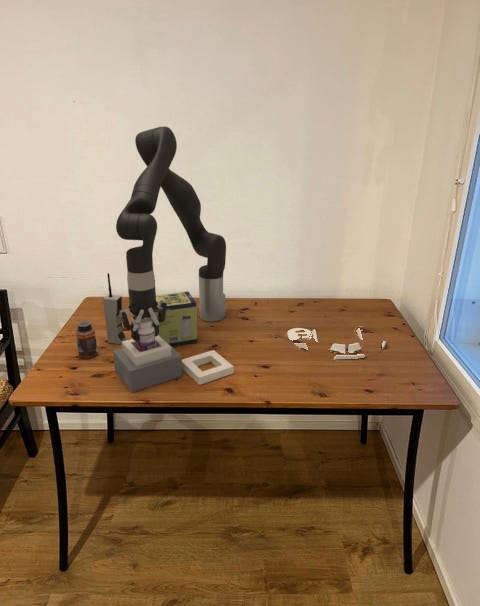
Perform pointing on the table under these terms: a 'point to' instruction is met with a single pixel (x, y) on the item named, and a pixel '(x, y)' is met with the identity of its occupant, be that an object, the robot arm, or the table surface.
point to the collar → (212, 374)
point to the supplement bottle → (86, 340)
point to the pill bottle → (146, 335)
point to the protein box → (178, 319)
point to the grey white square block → (147, 364)
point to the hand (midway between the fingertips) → (145, 337)
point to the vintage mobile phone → (113, 317)
